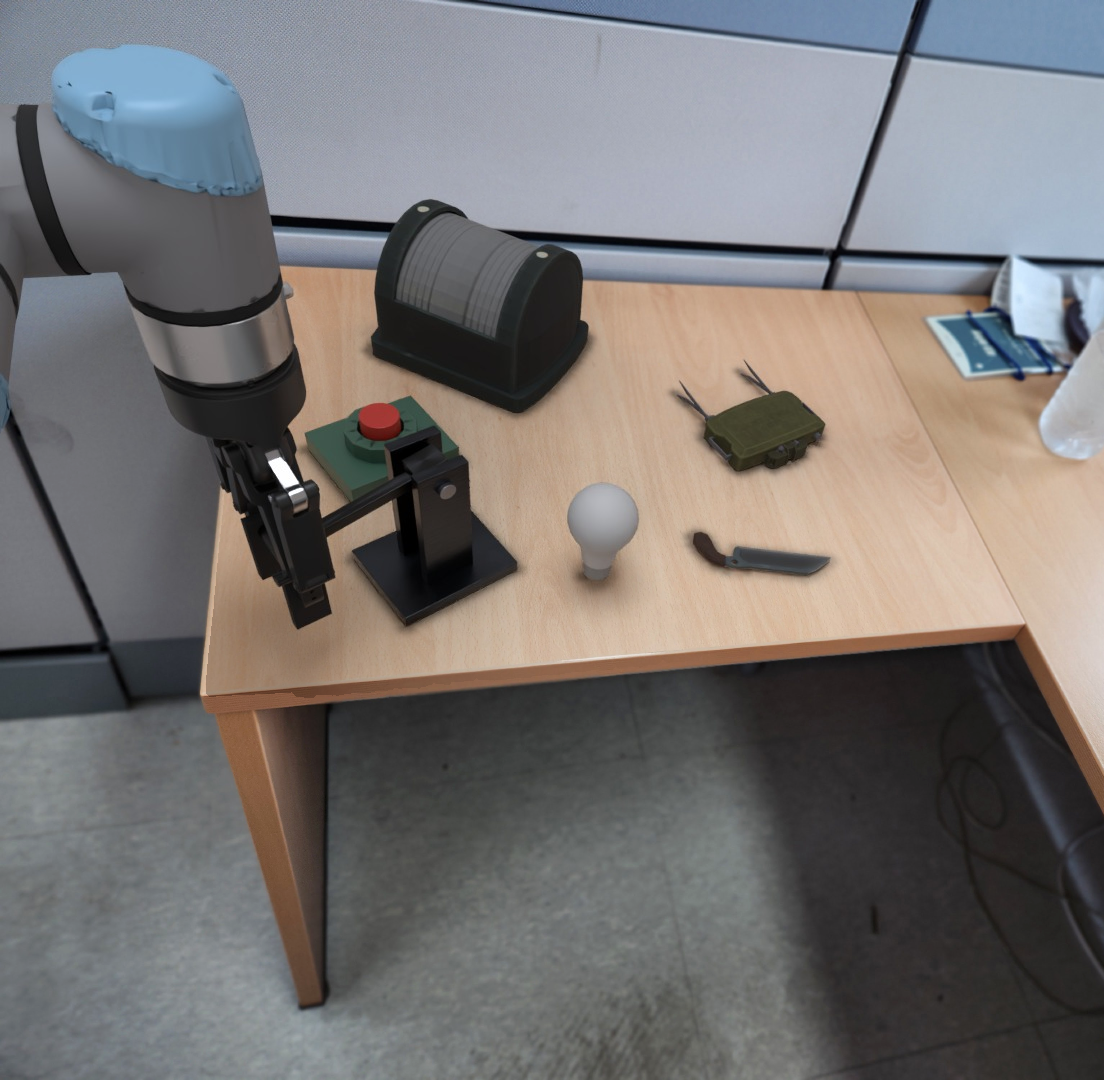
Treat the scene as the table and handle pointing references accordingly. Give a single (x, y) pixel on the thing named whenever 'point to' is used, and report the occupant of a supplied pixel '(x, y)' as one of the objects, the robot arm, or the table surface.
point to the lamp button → (379, 422)
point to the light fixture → (477, 307)
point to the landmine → (761, 428)
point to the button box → (366, 448)
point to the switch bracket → (432, 537)
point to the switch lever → (374, 494)
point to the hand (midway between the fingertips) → (294, 593)
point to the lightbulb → (602, 526)
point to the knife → (759, 558)
